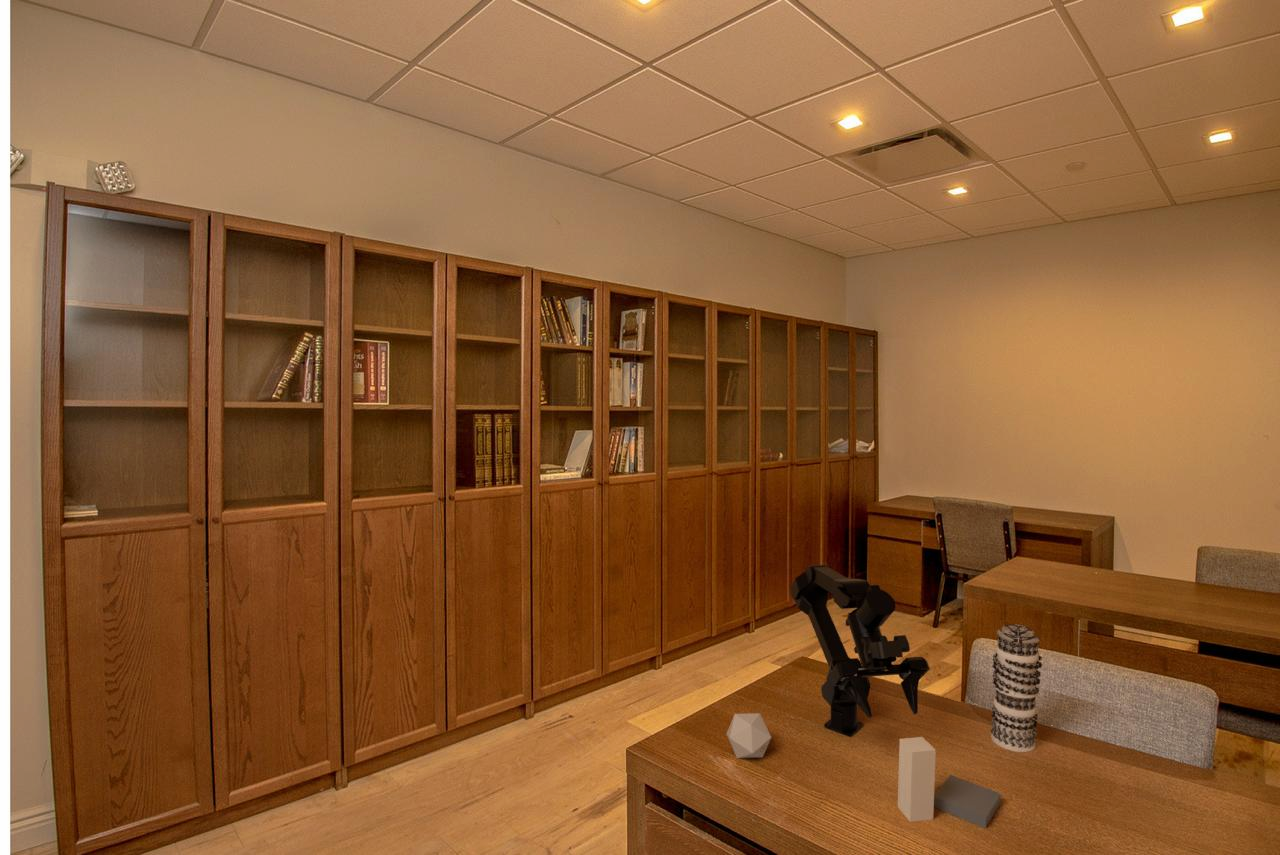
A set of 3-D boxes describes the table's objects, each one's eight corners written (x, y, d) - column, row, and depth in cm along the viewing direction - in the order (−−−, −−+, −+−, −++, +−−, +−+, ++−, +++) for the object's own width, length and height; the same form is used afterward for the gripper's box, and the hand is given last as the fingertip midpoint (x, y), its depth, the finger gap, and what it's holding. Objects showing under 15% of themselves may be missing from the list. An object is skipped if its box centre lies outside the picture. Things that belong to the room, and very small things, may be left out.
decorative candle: (1048, 747, 148) (1054, 632, 146) (1016, 757, 145) (1022, 639, 142) (1010, 726, 157) (1015, 617, 154) (979, 735, 153) (984, 624, 151)
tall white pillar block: (897, 806, 129) (899, 738, 128) (920, 803, 130) (922, 736, 129) (910, 821, 125) (912, 752, 124) (933, 819, 126) (935, 750, 124)
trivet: (949, 784, 136) (950, 774, 136) (1000, 803, 130) (1000, 793, 130) (932, 806, 129) (933, 796, 129) (985, 828, 123) (985, 817, 123)
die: (759, 774, 141) (783, 728, 143) (720, 749, 142) (744, 704, 144) (752, 766, 149) (774, 722, 151) (715, 742, 150) (738, 699, 152)
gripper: (836, 623, 137) (860, 704, 127) (926, 617, 140) (956, 696, 130) (820, 646, 146) (841, 724, 136) (904, 640, 148) (932, 717, 138)
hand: (893, 715), depth 135 cm, fingers open, 9 cm apart
